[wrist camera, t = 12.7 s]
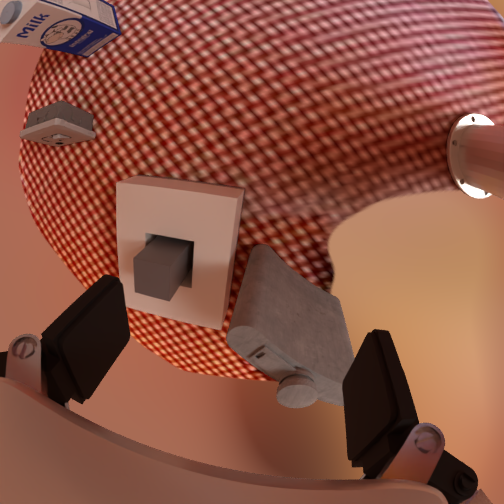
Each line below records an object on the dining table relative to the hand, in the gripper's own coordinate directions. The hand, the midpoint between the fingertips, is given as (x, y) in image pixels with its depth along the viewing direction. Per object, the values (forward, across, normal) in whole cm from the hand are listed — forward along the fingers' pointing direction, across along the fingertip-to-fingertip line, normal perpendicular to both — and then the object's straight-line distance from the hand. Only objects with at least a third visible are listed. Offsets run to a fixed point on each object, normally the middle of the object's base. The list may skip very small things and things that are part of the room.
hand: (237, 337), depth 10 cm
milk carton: (+27, +30, -23) cm, 46 cm away
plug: (+26, +12, +10) cm, 30 cm away
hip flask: (+27, -5, +13) cm, 31 cm away
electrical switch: (+27, +32, -7) cm, 42 cm away
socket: (+27, +12, +10) cm, 31 cm away
